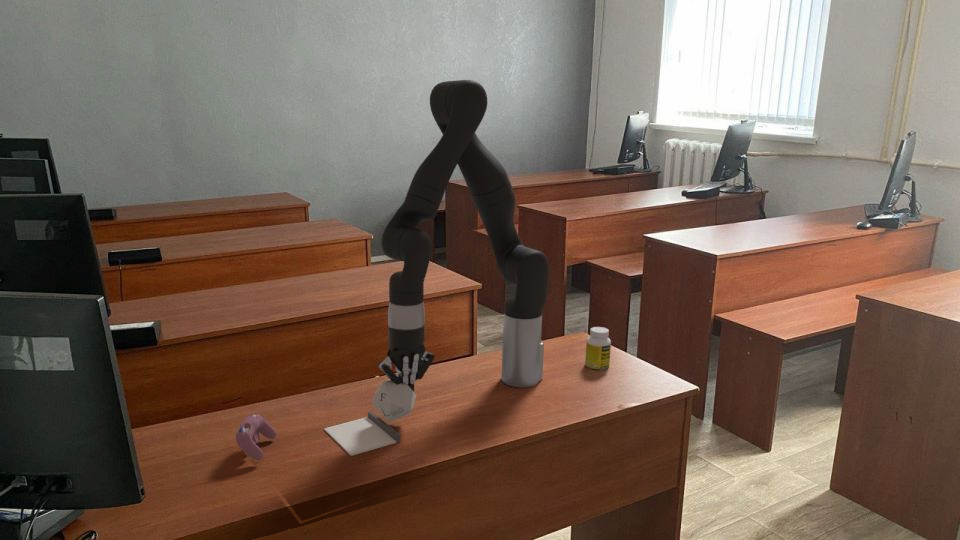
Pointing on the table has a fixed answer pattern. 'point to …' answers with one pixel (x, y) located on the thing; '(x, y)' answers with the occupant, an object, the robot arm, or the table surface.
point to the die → (394, 400)
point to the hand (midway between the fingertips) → (406, 399)
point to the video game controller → (253, 435)
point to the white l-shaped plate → (363, 434)
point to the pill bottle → (598, 349)
